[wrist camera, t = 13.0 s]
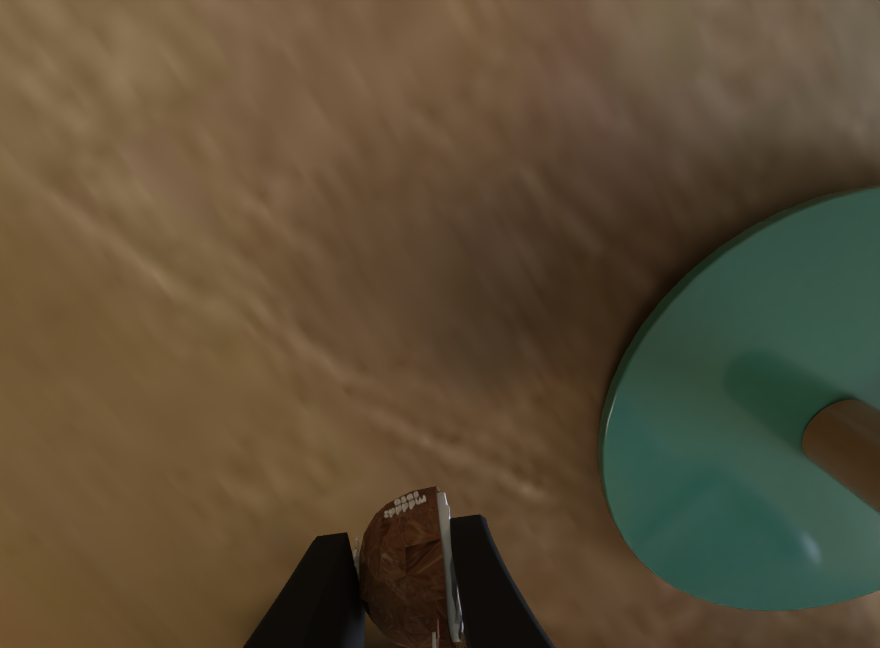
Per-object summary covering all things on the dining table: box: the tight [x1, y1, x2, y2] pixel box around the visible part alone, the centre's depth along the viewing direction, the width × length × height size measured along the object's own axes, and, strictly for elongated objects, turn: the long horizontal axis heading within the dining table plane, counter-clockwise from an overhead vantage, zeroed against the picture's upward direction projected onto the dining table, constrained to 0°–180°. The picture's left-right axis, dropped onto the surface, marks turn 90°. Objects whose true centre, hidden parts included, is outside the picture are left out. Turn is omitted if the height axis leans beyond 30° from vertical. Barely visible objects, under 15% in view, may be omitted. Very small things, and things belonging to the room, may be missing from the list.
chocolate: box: [353, 486, 463, 648], centre depth 9 cm, size 3×2×4 cm
